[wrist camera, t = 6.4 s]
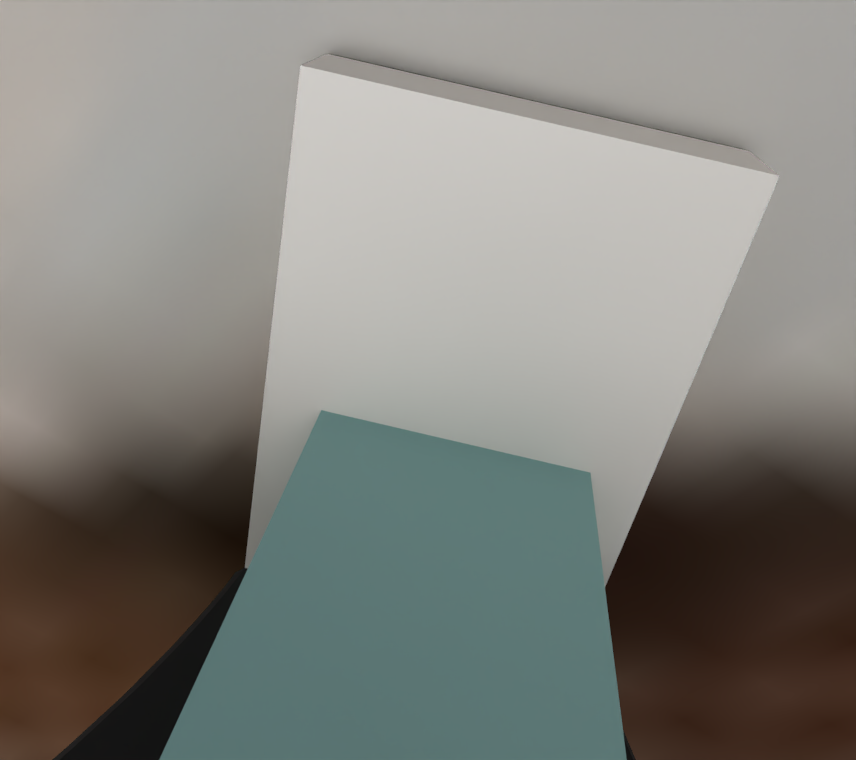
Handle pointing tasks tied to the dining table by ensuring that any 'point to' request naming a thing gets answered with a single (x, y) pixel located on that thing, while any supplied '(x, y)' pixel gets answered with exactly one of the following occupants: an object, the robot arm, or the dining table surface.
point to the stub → (461, 419)
